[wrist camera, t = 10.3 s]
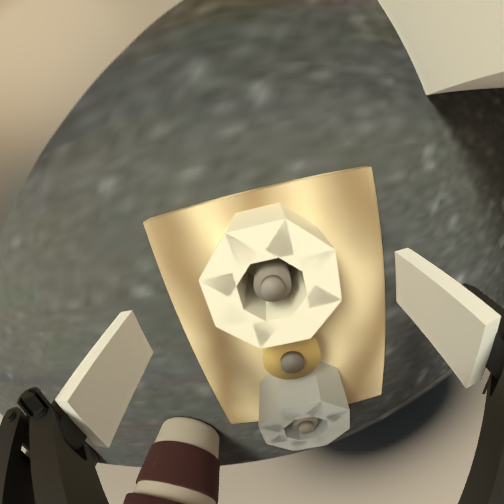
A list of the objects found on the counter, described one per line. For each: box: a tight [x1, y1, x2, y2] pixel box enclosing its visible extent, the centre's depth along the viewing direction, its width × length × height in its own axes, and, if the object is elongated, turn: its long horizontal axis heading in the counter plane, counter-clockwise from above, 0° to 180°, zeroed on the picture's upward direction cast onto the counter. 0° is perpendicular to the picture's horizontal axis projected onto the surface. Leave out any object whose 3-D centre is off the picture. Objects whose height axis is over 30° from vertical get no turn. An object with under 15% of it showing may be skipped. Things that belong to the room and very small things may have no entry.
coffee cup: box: [123, 417, 220, 504], centre depth 21 cm, size 10×10×15 cm
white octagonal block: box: [199, 203, 342, 349], centre depth 16 cm, size 7×7×5 cm
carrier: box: [143, 166, 385, 434], centre depth 19 cm, size 16×22×7 cm
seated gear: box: [259, 361, 350, 451], centre depth 20 cm, size 7×7×5 cm
